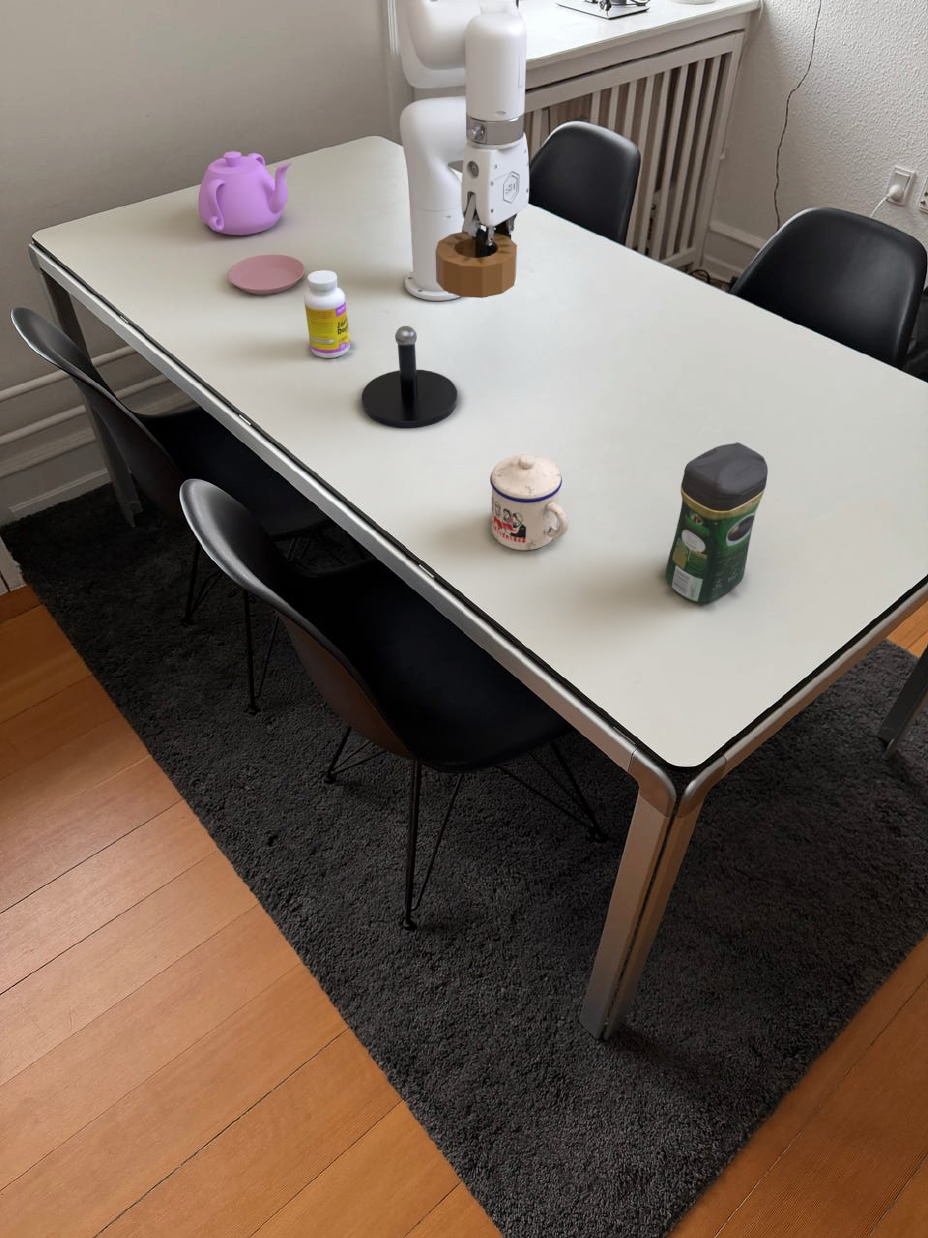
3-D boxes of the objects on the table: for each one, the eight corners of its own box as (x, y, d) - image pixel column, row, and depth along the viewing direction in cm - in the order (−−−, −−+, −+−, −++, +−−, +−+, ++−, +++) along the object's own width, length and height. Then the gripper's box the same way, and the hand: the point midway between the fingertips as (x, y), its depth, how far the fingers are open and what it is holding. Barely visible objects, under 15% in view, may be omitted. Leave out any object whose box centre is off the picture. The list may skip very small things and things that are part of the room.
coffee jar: (704, 548, 123) (730, 427, 110) (751, 580, 118) (785, 458, 105) (651, 579, 119) (673, 458, 106) (699, 614, 114) (727, 492, 101)
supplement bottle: (344, 361, 157) (335, 287, 148) (306, 357, 158) (295, 284, 149) (355, 341, 161) (347, 268, 152) (318, 337, 162) (308, 265, 153)
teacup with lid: (475, 528, 126) (475, 456, 118) (525, 500, 130) (528, 429, 122) (538, 574, 120) (542, 501, 111) (587, 542, 124) (595, 470, 116)
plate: (285, 304, 171) (283, 293, 170) (215, 293, 175) (213, 282, 173) (318, 269, 181) (317, 259, 179) (251, 260, 184) (250, 250, 183)
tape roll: (468, 254, 139) (468, 223, 135) (530, 274, 134) (531, 243, 131) (421, 282, 133) (420, 251, 129) (484, 305, 128) (484, 273, 125)
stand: (404, 365, 156) (400, 293, 147) (476, 395, 149) (476, 322, 140) (342, 406, 147) (333, 332, 138) (415, 439, 141) (411, 364, 132)
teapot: (275, 254, 186) (263, 181, 176) (180, 239, 191) (163, 168, 181) (324, 211, 200) (316, 141, 190) (235, 198, 206) (222, 130, 196)
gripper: (480, 152, 116) (480, 293, 129) (553, 114, 125) (546, 250, 138) (432, 139, 119) (437, 278, 132) (507, 103, 128) (504, 237, 141)
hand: (493, 263), depth 135 cm, fingers closed on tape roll, 3 cm apart
